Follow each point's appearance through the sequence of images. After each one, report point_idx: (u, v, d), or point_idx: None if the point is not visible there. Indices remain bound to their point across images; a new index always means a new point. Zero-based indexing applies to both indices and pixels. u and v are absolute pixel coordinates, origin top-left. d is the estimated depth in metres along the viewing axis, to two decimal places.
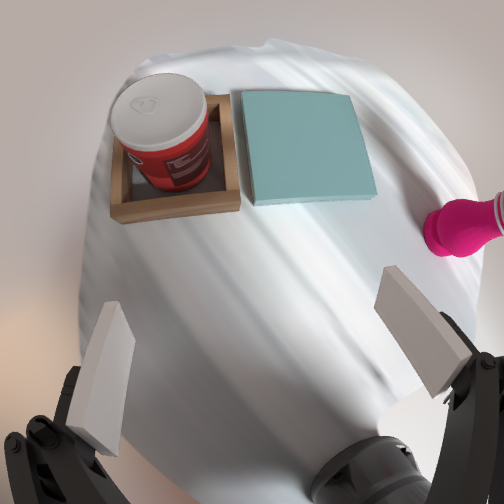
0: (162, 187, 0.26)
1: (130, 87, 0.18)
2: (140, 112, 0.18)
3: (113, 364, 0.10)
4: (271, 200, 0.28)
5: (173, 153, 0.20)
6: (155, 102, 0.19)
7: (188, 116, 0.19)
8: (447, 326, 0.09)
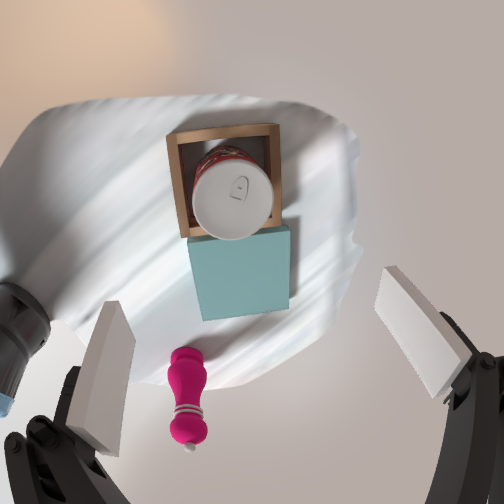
0: (195, 174, 0.32)
1: (261, 174, 0.24)
2: (231, 187, 0.25)
3: (113, 364, 0.10)
4: (189, 253, 0.37)
5: None
6: (239, 200, 0.26)
7: (221, 227, 0.27)
8: (447, 326, 0.09)
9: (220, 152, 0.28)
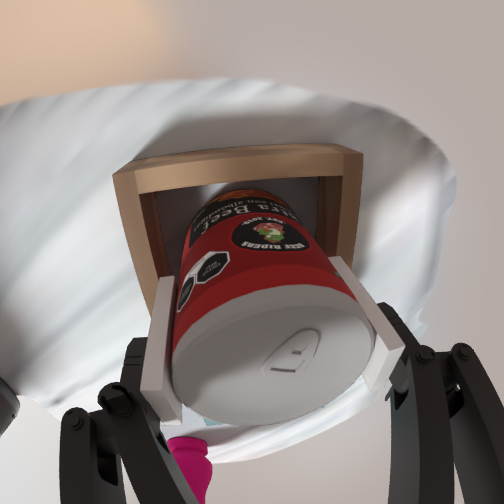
0: None
1: (359, 322, 0.08)
2: (274, 353, 0.09)
3: None
4: None
5: None
6: (292, 372, 0.10)
7: (244, 411, 0.11)
8: (382, 316, 0.10)
9: (237, 221, 0.12)
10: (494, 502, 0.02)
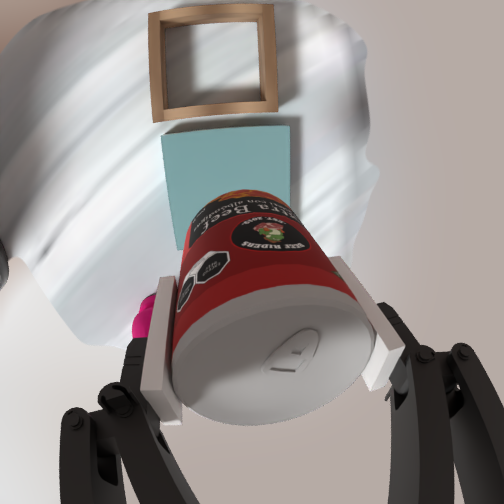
0: None
1: (359, 322, 0.08)
2: (274, 352, 0.09)
3: None
4: (162, 150, 0.28)
5: None
6: (292, 372, 0.10)
7: (244, 411, 0.11)
8: (382, 316, 0.10)
9: (237, 220, 0.12)
10: (494, 502, 0.02)
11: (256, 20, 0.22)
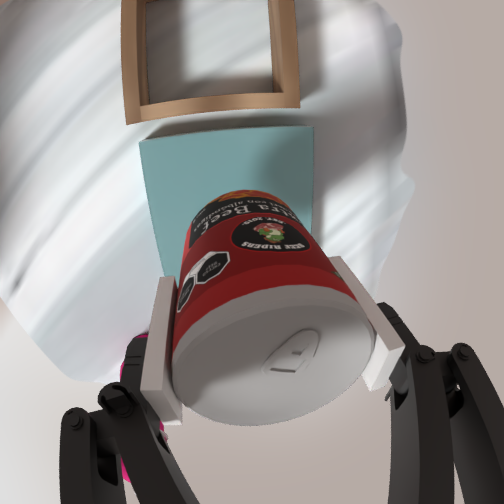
0: None
1: (359, 323, 0.08)
2: (274, 353, 0.09)
3: None
4: (142, 161, 0.20)
5: None
6: (292, 372, 0.10)
7: (244, 411, 0.11)
8: (382, 316, 0.10)
9: (237, 221, 0.12)
10: (494, 502, 0.02)
11: None
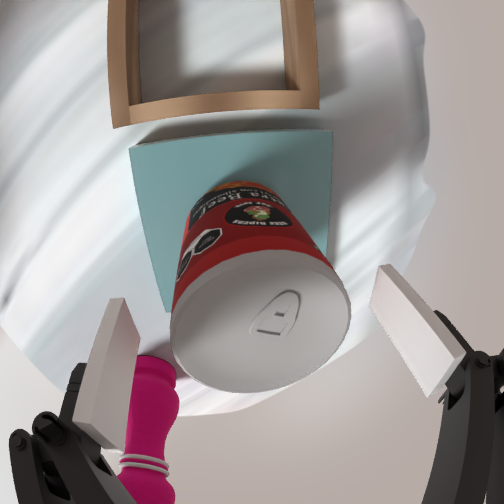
0: None
1: (334, 286, 0.10)
2: (260, 314, 0.11)
3: (119, 360, 0.10)
4: (133, 170, 0.17)
5: None
6: (277, 335, 0.11)
7: (235, 377, 0.12)
8: (441, 324, 0.09)
9: (230, 205, 0.14)
10: None
11: None
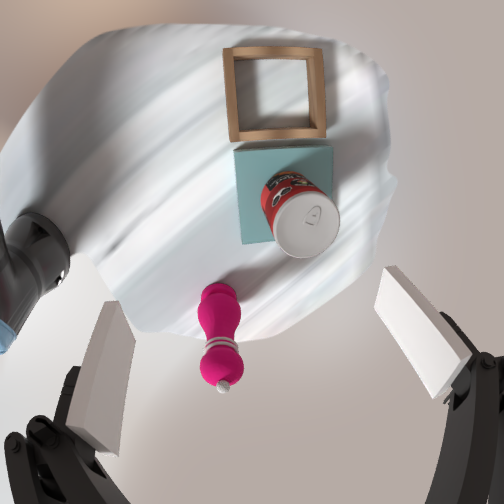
0: (262, 195, 0.37)
1: (332, 204, 0.29)
2: (307, 215, 0.30)
3: (113, 364, 0.10)
4: (234, 163, 0.37)
5: None
6: (313, 225, 0.30)
7: (295, 247, 0.31)
8: (447, 326, 0.09)
9: (290, 180, 0.33)
10: None
11: (306, 59, 0.31)
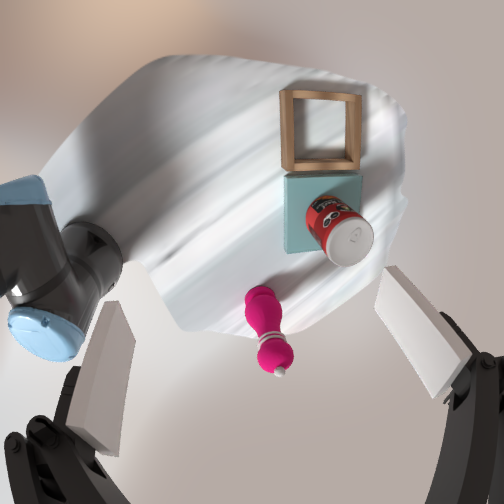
0: (309, 215, 0.45)
1: (369, 227, 0.37)
2: (351, 234, 0.38)
3: (113, 364, 0.10)
4: (286, 187, 0.45)
5: (323, 248, 0.40)
6: (354, 242, 0.39)
7: (340, 259, 0.40)
8: (447, 326, 0.09)
9: (335, 205, 0.41)
10: None
11: (346, 101, 0.39)
